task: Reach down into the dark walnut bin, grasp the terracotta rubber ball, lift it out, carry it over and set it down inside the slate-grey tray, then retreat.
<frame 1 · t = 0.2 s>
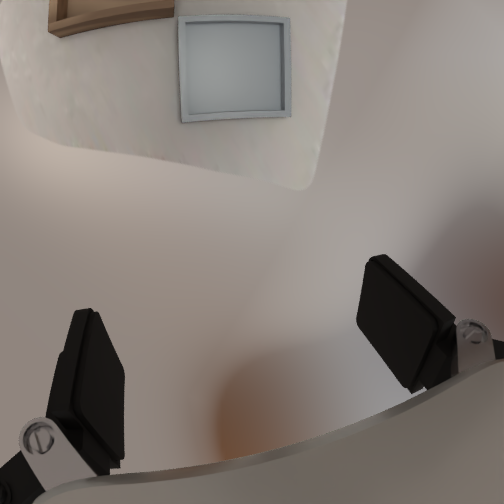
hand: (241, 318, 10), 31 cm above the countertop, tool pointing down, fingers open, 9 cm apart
tray: (233, 66, 33), on the countertop
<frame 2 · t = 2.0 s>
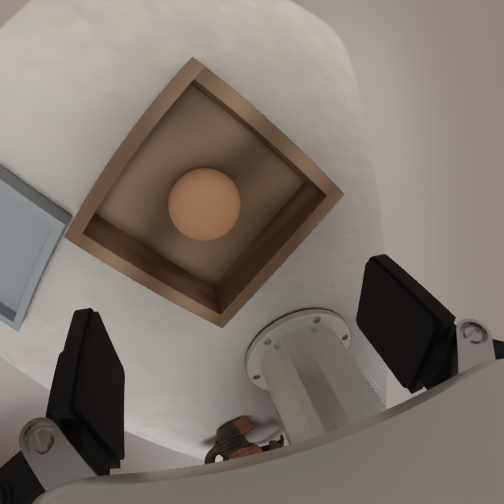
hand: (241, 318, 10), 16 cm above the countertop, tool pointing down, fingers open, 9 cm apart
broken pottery: (238, 432, 41), on the countertop
ball: (204, 204, 21), point 3 cm above the countertop, touching bin
bin: (200, 192, 24), on the countertop
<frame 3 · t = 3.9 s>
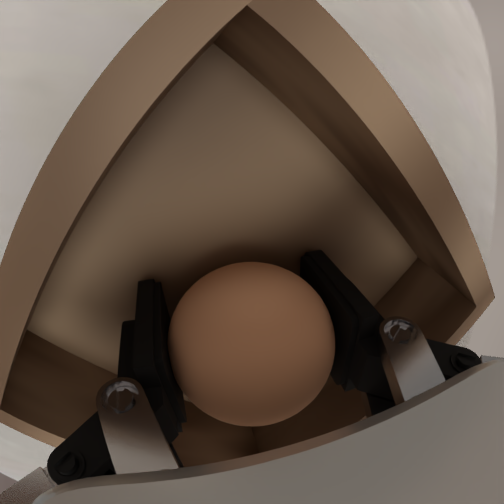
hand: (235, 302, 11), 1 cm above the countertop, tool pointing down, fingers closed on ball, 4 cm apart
ball: (251, 344, 9), point 3 cm above the countertop, touching bin, gripper
bin: (231, 290, 12), on the countertop
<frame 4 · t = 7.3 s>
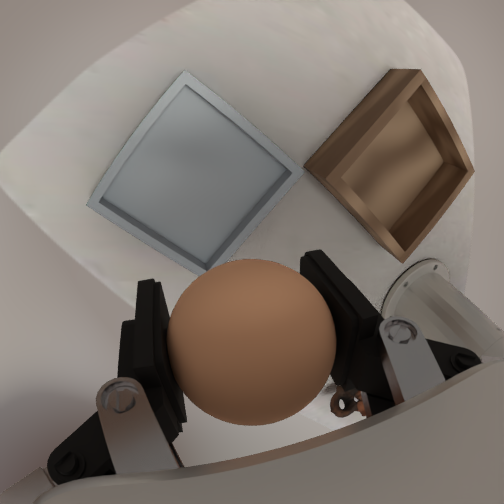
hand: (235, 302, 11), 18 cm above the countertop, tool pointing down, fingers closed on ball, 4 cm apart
tray: (194, 178, 26), on the countertop
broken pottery: (353, 376, 47), on the countertop
ball: (251, 343, 9), point 20 cm above the countertop, touching gripper
bin: (388, 161, 30), on the countertop
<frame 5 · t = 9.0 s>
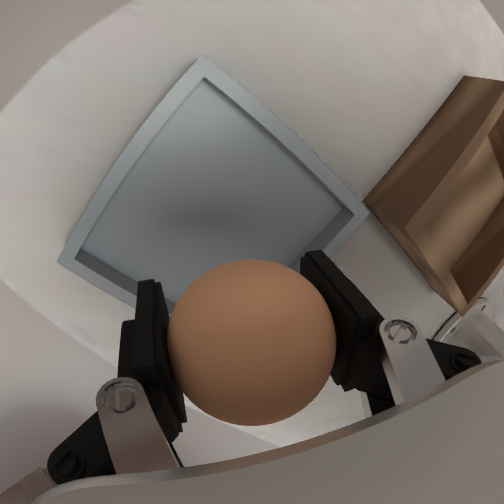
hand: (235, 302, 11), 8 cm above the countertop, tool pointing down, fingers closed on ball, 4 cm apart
tray: (213, 220, 18), on the countertop
ball: (251, 343, 9), point 10 cm above the countertop, touching gripper
bin: (456, 192, 22), on the countertop
when the fingers open (2 cm above the countertop, at t = 10.5 s): ball drops 1 cm, resting on tray.
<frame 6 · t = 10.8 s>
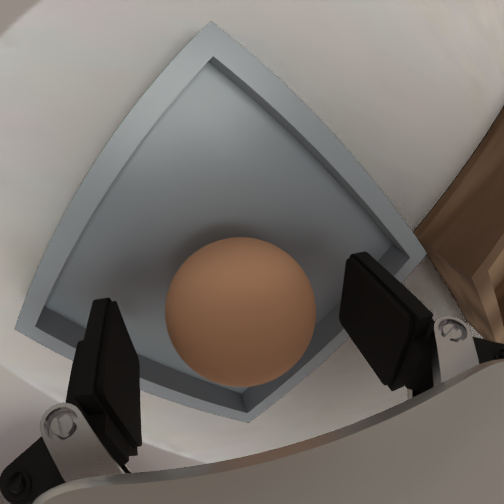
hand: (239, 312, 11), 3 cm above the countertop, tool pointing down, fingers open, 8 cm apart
tray: (223, 267, 13), on the countertop
ball: (240, 312, 10), point 3 cm above the countertop, touching tray
bin: (503, 215, 17), on the countertop
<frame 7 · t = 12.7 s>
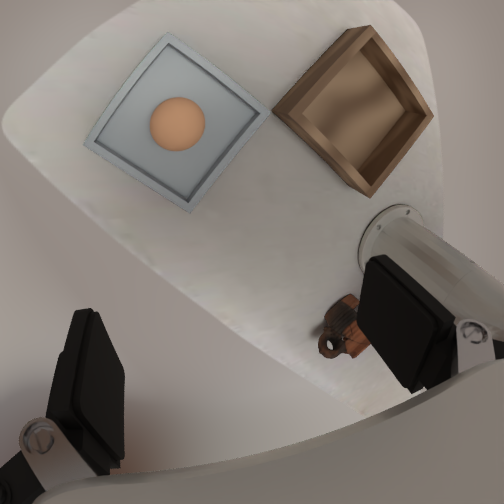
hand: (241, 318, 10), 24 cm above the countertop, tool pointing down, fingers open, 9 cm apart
tray: (175, 122, 29), on the countertop
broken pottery: (340, 318, 50), on the countertop
ball: (177, 124, 26), point 3 cm above the countertop, touching tray
bin: (350, 108, 33), on the countertop
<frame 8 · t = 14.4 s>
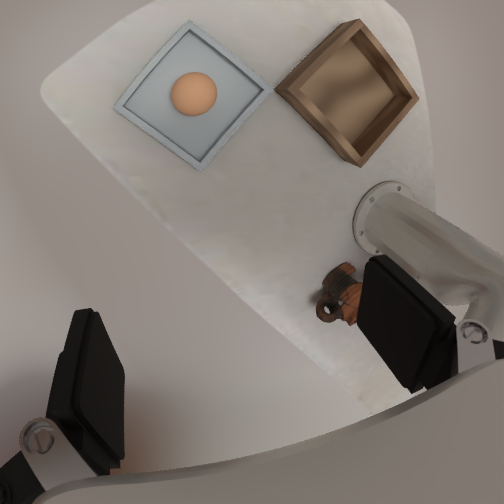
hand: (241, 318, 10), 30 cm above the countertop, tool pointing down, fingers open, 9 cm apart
tray: (192, 95, 33), on the countertop
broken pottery: (337, 287, 53), on the countertop
ball: (193, 93, 30), point 3 cm above the countertop, touching tray
bin: (344, 90, 37), on the countertop
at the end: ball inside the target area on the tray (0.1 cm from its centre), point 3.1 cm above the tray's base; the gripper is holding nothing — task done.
